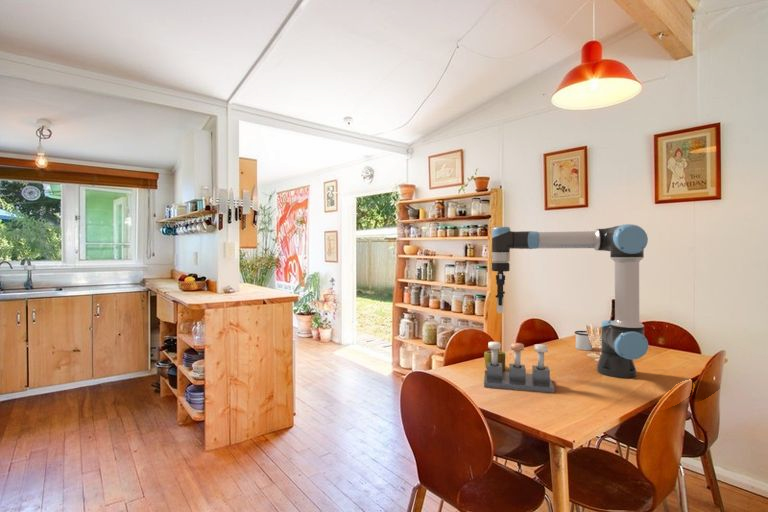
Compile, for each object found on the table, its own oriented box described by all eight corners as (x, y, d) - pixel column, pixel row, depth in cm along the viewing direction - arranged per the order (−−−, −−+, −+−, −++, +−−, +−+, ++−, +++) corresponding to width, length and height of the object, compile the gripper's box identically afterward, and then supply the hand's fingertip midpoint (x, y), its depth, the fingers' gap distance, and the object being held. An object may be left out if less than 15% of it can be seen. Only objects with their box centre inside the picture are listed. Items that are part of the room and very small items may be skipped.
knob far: (500, 365, 169) (500, 342, 169) (500, 369, 164) (500, 344, 164) (488, 364, 171) (488, 341, 170) (488, 368, 166) (488, 344, 166)
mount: (548, 379, 170) (548, 363, 169) (554, 393, 154) (554, 374, 154) (484, 374, 176) (485, 358, 176) (484, 387, 161) (484, 369, 161)
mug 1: (510, 369, 177) (503, 347, 180) (487, 375, 179) (480, 353, 182) (509, 367, 189) (502, 346, 191) (488, 372, 191) (481, 351, 193)
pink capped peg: (523, 367, 167) (523, 343, 167) (524, 371, 162) (524, 346, 162) (510, 366, 168) (510, 342, 168) (511, 370, 163) (511, 345, 163)
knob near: (546, 369, 165) (546, 344, 164) (548, 372, 160) (548, 347, 159) (533, 368, 166) (533, 343, 166) (534, 371, 161) (534, 346, 161)
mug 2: (588, 352, 214) (588, 335, 214) (570, 348, 222) (571, 332, 222) (599, 348, 221) (599, 332, 221) (582, 345, 229) (582, 329, 229)
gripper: (492, 261, 190) (491, 306, 190) (491, 263, 166) (490, 314, 167) (509, 261, 188) (508, 306, 188) (510, 263, 164) (509, 315, 164)
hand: (500, 310), depth 177 cm, fingers open, 13 cm apart
